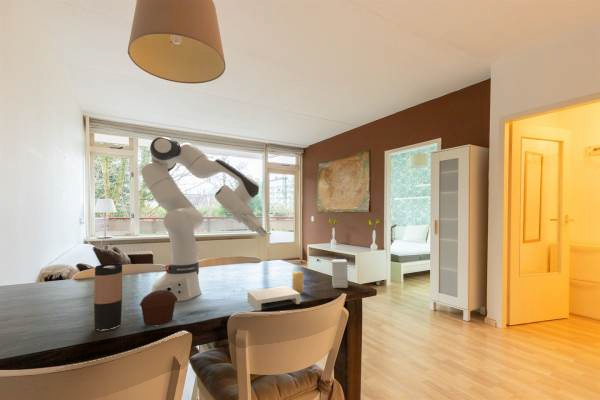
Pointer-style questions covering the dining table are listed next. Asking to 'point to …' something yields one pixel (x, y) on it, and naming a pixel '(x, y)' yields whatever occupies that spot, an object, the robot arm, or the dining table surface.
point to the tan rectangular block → (297, 281)
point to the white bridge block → (272, 296)
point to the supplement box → (339, 273)
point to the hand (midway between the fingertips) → (265, 235)
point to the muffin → (158, 307)
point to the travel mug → (108, 296)
